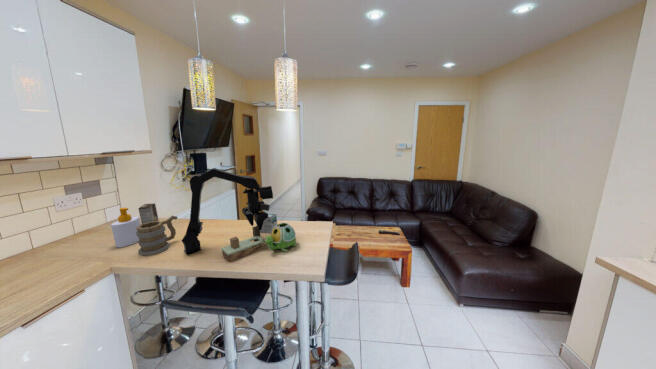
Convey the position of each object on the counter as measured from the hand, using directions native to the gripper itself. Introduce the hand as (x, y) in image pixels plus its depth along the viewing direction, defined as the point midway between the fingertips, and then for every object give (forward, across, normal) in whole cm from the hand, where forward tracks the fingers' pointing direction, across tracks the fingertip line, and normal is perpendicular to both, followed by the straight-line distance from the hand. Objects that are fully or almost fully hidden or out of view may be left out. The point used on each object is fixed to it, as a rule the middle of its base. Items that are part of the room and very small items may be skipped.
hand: (256, 227), depth 132 cm
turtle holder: (+8, -17, -5) cm, 19 cm away
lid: (+4, -7, +11) cm, 13 cm away
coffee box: (+8, +66, +39) cm, 77 cm away
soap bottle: (+8, +52, +51) cm, 73 cm away
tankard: (+8, +32, +39) cm, 51 cm away
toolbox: (+8, -7, +11) cm, 15 cm away
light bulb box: (+8, +8, -11) cm, 16 cm away
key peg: (+8, 0, 0) cm, 8 cm away
